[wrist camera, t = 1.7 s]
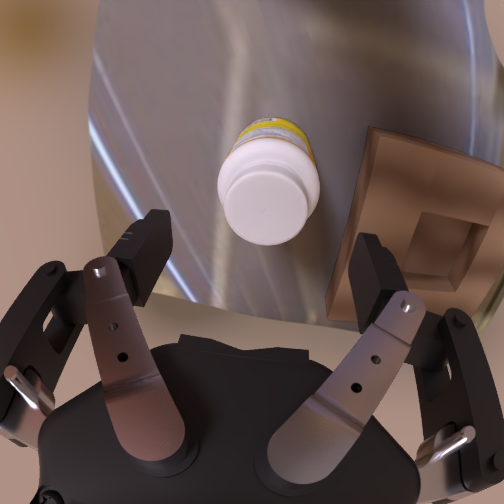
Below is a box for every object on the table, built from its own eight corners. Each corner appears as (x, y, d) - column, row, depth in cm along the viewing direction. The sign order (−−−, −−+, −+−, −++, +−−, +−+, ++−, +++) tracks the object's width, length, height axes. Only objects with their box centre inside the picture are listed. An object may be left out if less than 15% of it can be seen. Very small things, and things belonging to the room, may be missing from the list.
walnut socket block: (368, 126, 20) (379, 135, 17) (521, 176, 19) (537, 190, 16) (325, 298, 30) (327, 319, 28) (457, 307, 30) (465, 325, 27)
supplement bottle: (286, 193, 24) (285, 275, 16) (226, 161, 23) (189, 229, 15) (323, 137, 21) (349, 194, 13) (259, 101, 20) (238, 131, 11)
